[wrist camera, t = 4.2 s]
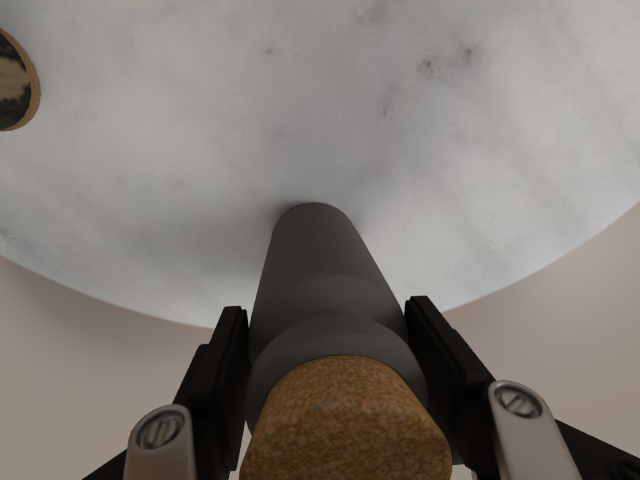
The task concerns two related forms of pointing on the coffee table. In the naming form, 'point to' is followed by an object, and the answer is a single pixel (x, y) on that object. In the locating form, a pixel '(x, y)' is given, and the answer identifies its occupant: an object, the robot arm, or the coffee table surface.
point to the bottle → (333, 364)
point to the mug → (16, 85)
